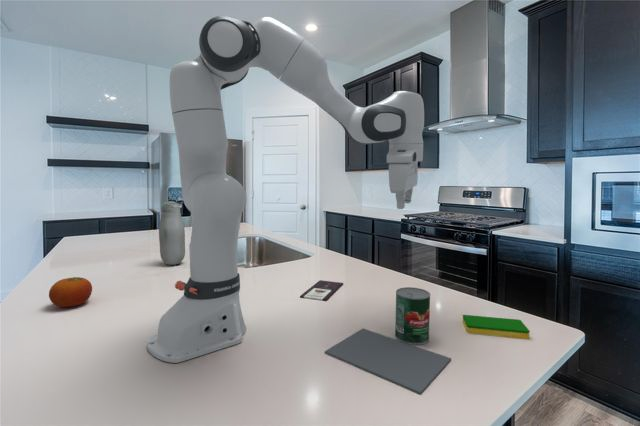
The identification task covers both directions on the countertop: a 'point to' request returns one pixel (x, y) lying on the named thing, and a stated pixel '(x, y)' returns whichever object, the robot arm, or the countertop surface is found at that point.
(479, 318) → the dish sponge
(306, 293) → the chocolate bar
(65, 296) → the fruit
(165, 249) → the grey bottle
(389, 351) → the rubber mat
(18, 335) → the countertop surface
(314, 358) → the countertop surface
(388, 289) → the countertop surface
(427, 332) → the canned tomato
